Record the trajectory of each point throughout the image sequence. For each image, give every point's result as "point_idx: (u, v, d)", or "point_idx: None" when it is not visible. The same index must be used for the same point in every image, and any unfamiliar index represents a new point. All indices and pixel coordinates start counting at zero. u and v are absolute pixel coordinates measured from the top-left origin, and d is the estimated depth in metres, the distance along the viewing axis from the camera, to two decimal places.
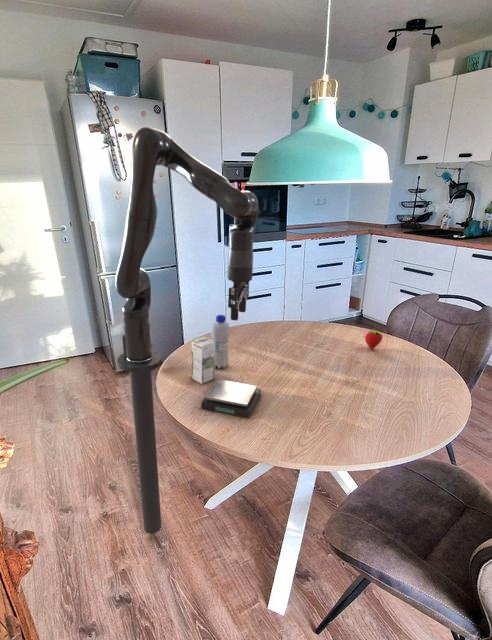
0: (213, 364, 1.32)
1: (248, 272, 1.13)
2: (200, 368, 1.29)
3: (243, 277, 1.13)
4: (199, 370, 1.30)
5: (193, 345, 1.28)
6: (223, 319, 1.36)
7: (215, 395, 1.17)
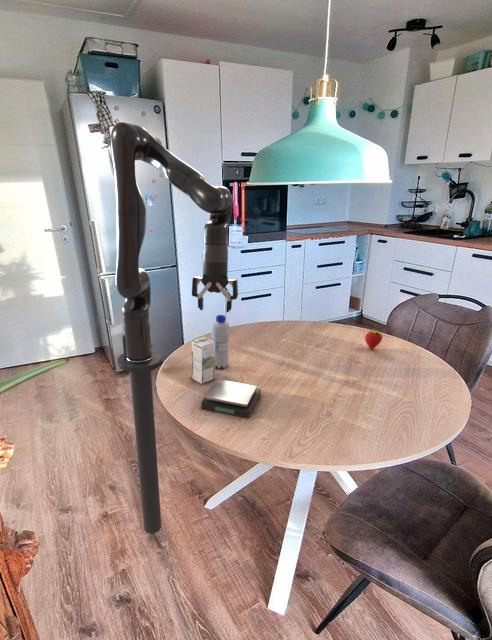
0: (213, 364, 1.32)
1: (206, 266, 1.14)
2: (200, 368, 1.29)
3: (203, 270, 1.16)
4: (199, 370, 1.30)
5: (193, 345, 1.28)
6: (223, 319, 1.36)
7: (215, 395, 1.17)
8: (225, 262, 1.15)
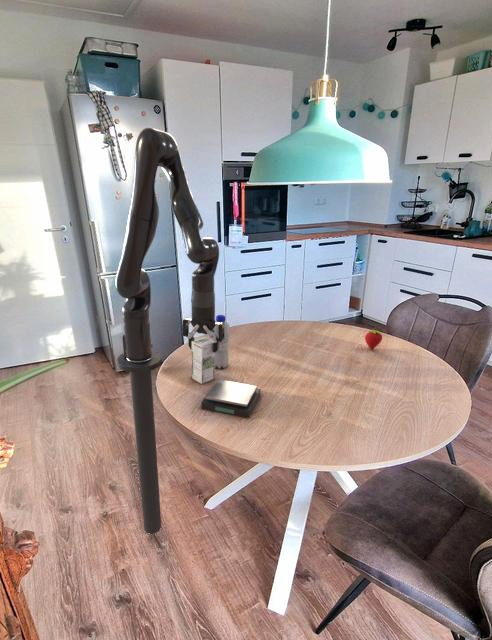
0: (213, 364, 1.32)
1: (193, 310, 1.22)
2: (200, 368, 1.29)
3: None
4: (199, 370, 1.30)
5: (193, 345, 1.28)
6: (223, 319, 1.36)
7: (215, 395, 1.17)
8: (211, 307, 1.21)
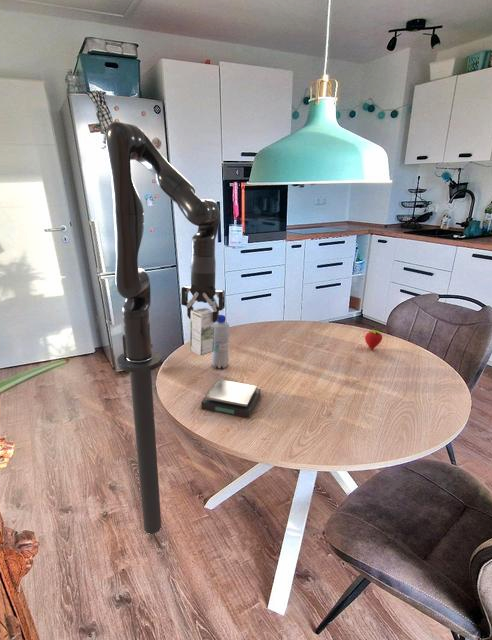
0: (213, 335, 1.27)
1: (193, 276, 1.17)
2: (199, 338, 1.25)
3: (191, 280, 1.19)
4: (197, 341, 1.26)
5: (192, 314, 1.24)
6: (223, 319, 1.36)
7: (215, 395, 1.17)
8: (211, 273, 1.17)
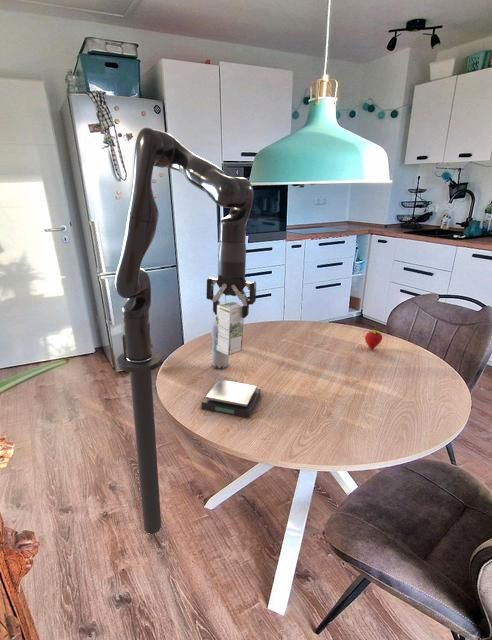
0: (241, 332, 1.14)
1: (221, 266, 1.03)
2: (227, 336, 1.11)
3: (218, 270, 1.05)
4: (225, 339, 1.12)
5: (219, 309, 1.10)
6: None
7: (215, 395, 1.17)
8: (242, 262, 1.03)
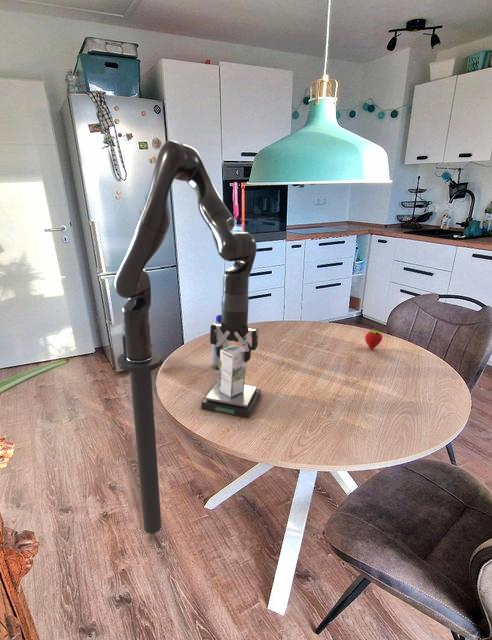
0: (243, 375, 1.17)
1: (224, 315, 1.07)
2: (230, 379, 1.15)
3: (222, 318, 1.09)
4: (228, 382, 1.16)
5: (222, 354, 1.14)
6: None
7: (215, 396, 1.17)
8: (244, 311, 1.07)
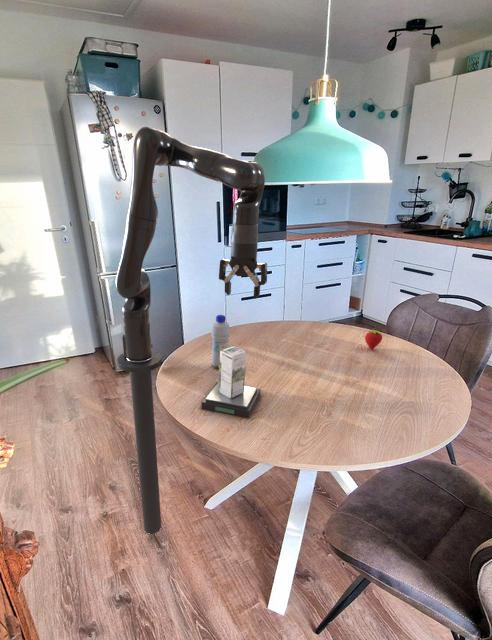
0: (243, 376, 1.18)
1: (234, 247, 1.08)
2: (230, 381, 1.15)
3: (231, 252, 1.10)
4: (228, 384, 1.16)
5: (222, 355, 1.14)
6: (223, 319, 1.36)
7: (215, 397, 1.18)
8: (254, 244, 1.08)
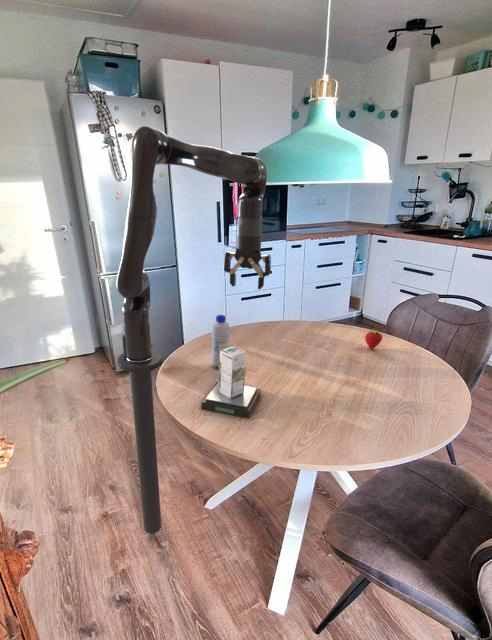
0: (243, 376, 1.18)
1: (239, 240, 1.13)
2: (230, 381, 1.15)
3: (236, 244, 1.15)
4: (228, 384, 1.16)
5: (222, 355, 1.14)
6: (223, 319, 1.36)
7: (215, 397, 1.18)
8: (258, 236, 1.12)
